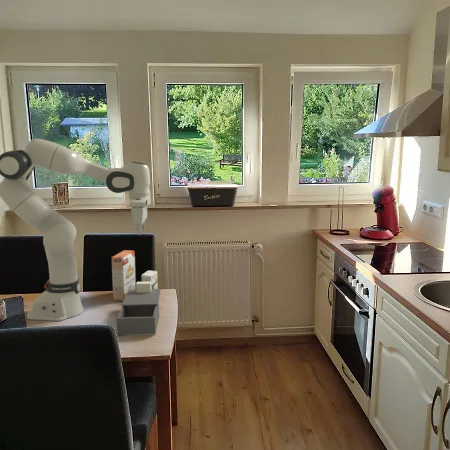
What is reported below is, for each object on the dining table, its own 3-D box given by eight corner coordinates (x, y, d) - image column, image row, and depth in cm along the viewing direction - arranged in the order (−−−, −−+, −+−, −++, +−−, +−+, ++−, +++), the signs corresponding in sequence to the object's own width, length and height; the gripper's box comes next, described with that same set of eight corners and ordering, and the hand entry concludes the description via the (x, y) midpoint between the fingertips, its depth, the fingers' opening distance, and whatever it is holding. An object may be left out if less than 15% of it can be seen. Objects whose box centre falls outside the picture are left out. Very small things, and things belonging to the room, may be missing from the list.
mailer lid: (121, 306, 165) (121, 295, 164) (128, 290, 183) (128, 280, 182) (157, 305, 166) (156, 294, 165) (160, 290, 184) (160, 280, 183)
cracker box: (125, 301, 190) (123, 257, 186) (112, 300, 191) (110, 257, 187) (136, 291, 203) (135, 250, 199) (125, 290, 204) (123, 249, 200)
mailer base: (117, 336, 155) (116, 318, 154) (125, 316, 173) (124, 301, 171) (155, 334, 156) (154, 317, 155) (159, 315, 174) (158, 300, 172)
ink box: (151, 300, 191) (151, 276, 189) (141, 299, 192) (140, 275, 190) (158, 294, 199) (157, 270, 197) (148, 293, 200) (147, 270, 198)
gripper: (136, 197, 186) (136, 227, 189) (128, 203, 166) (129, 237, 169) (150, 197, 187) (150, 227, 189) (144, 203, 167) (145, 236, 169)
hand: (140, 232), depth 179 cm, fingers open, 8 cm apart
